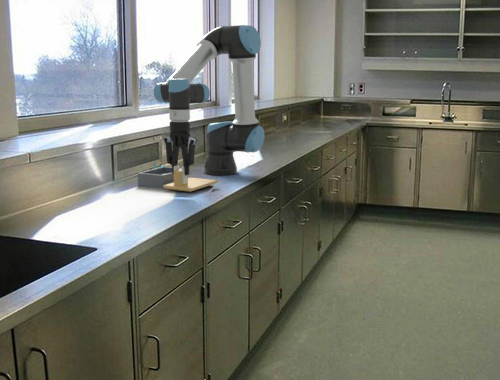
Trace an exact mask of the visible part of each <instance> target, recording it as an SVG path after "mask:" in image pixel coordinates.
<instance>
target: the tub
mask: <svg viewBox="0 0 500 380" xmlns="http://www.w3.org/2000/svg"><path fill="white" fill-rule="evenodd" d="M159 167H160V166H159ZM159 167H157V168H153V169H152V168H151V169H152V170H151V169H149V170H145V171H140V172H137V187H142V188H143V187H144V188H153V189H159V190H160V189H162V190H164V189H165V188H163V185H166V184H169V183H173V182H174V174H172V166H171V167H170V166H165V167H162V166H161V167H160V168H159ZM179 169H182V167H179ZM161 174H164V175H161Z"/></svg>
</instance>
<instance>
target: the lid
mask: <svg viewBox="0 0 500 380" xmlns="http://www.w3.org/2000/svg"><path fill="white" fill-rule="evenodd" d="M217 183H218V180H217V179H206V178H200V177H199V178H197V177H188V183H186V184H182V169H179V170H175V171H174V182H173V183H169V184H166V185H163V188H164V189H168V190H169V189H170V190H172V191H181V192H189V193H190V192H193V191H197V190H200V189H203V188H206V187H209V186H212V185H214V184H217Z"/></svg>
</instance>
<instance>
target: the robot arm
mask: <svg viewBox="0 0 500 380" xmlns="http://www.w3.org/2000/svg"><path fill="white" fill-rule="evenodd" d="M261 47H262V42H261V36H260V33H259V32H258V30H257V28H255V27H254V26H253V25H248V24H247V25H246V24H242V25H222V26H218V27H216V28H214V29H211V31H209V32H208V33H207V34H205V35H204V36H203V37H202V38H201V39H199V41H198V42H197V44H196V48H195V49H194V50H193V51H192V52H190V53H191V54H190V55H189V56H188V57H187V58H186V59H185V60H184V61H183V62H182V63H181V64H180V66H179V67H178V68H177V69H175V71H174V73H172V75H170V77H169V78H168V79H166V81H165V82H158V83H156V84H155V85H154V88H153V93H152V94H153V97H154V100H156V101H157V102H160V103H165V104H167V103H169V108H168V110H169V116H168V117H169V120H170V122H169V131H170V133H169V136H166V137H164V138H163V141H164V144H165V151H166V161H167V164H168V165H171V167H172V174H174V171H175V170H179V168H180V165H179V164H180V163H179V162H178V161H179V155H180V154H179V153H180V152H181V157H182V161H183V163H182V166H181V168H182V184H186V183H188V178H189V175H190V166H194V164H195V153H196V152H195V151H196V150H195V149H196V144H197V142H198V140H197V139H196V138H192V136H191V134H190V131H191V123H190V120H191V113H190V112H191V110H190V109H191V108H190V106H191V105H193V104H194V105H197V104H200V105H201V104H203V103H206V102H208V100H209V99H210V97H211V96H210V95H211V93H210V89H209V87H208V86H207V85H206V84H205V83H200V82H199V83H192V81H194V80H195V78H196V77H197V76H198V75H199V74H200V73H201V71H203V69H204V68H205V67H206V66H207V65H208V63H209V62H210V61H213V60H215V59H216V58H217V57H218V56H220V55H228V60H229V61H230V62H231V63H232V64H231V65H232V76H233V77H232V78H233V79H232V80H233V95H234V96H233V98H234V100H233V101H234V113H235V114H234V115H235V118H234V119H233V121H232V120H231V121H229V120H228V121H221V122H213V123H209V124H208V125H207V131H206V135H207V137H206V138H207V157H206V160H205V164H204V166H203V173H204V174H207V175H212V176H214V175H215V176H216V175H217V176H227V175H234V174H237V173H238V167H237V164H236V160H235V158H234V152H241V153H243V152H245V153H248V154H249V153H257V152H258V151H260V149H261V148H262V147H263V145H264V141H265V138H266V137H265V130H264V127H263V126H261V125H260V122H259V120H258V119H257V117H256V110H255V107H256V106H255V91H254V90H255V87H254V68H253V67H254V66H253V61H254V60H255V59H256V58H257V56H256V55H257V54H258V53H259V52H260V50H261ZM188 144H189V145H188ZM180 150H181V151H180Z"/></svg>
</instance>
